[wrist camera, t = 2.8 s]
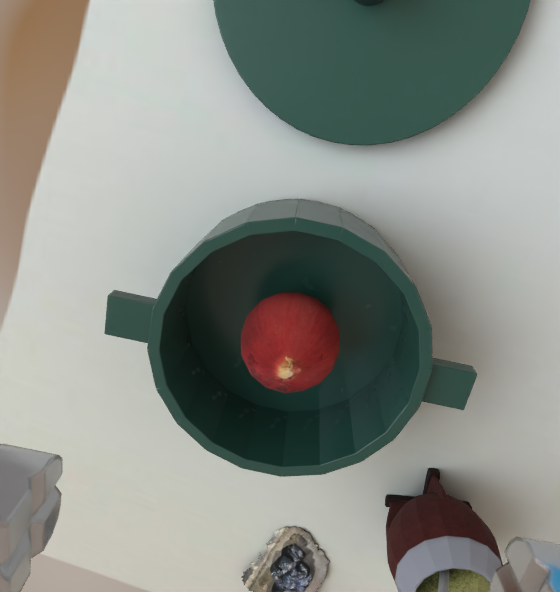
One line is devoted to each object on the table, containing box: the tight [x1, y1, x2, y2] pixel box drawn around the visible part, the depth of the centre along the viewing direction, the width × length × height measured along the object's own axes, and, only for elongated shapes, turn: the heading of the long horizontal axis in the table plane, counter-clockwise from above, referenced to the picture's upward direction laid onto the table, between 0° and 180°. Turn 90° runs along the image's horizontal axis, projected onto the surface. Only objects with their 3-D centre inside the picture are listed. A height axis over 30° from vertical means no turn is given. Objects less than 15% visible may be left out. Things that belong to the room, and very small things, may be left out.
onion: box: [241, 292, 340, 394], centre depth 29 cm, size 6×6×8 cm
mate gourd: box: [385, 468, 503, 592], centre depth 31 cm, size 8×8×15 cm
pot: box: [105, 199, 477, 476], centre depth 30 cm, size 15×21×6 cm
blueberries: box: [242, 526, 329, 592], centre depth 40 cm, size 7×8×2 cm
